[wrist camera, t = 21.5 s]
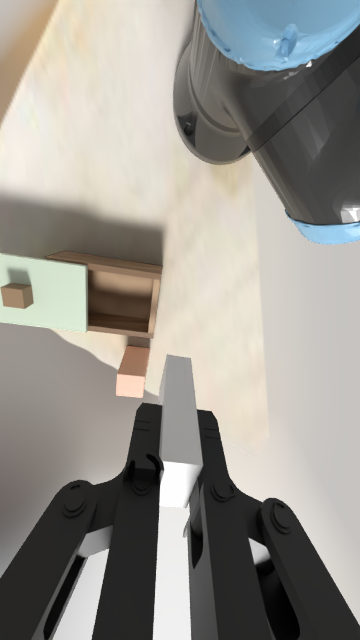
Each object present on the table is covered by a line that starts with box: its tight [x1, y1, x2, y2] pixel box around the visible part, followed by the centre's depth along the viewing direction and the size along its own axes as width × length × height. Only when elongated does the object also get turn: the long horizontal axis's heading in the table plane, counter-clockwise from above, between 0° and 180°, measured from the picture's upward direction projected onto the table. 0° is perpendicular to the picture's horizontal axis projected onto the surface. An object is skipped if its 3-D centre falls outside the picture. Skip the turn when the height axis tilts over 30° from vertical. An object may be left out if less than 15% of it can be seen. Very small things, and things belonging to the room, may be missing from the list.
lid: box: [0, 253, 88, 332], centre depth 35 cm, size 11×17×4 cm, turn 81°
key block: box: [116, 346, 150, 398], centre depth 46 cm, size 5×5×10 cm
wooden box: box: [45, 251, 162, 338], centre depth 41 cm, size 12×18×7 cm, turn 81°
